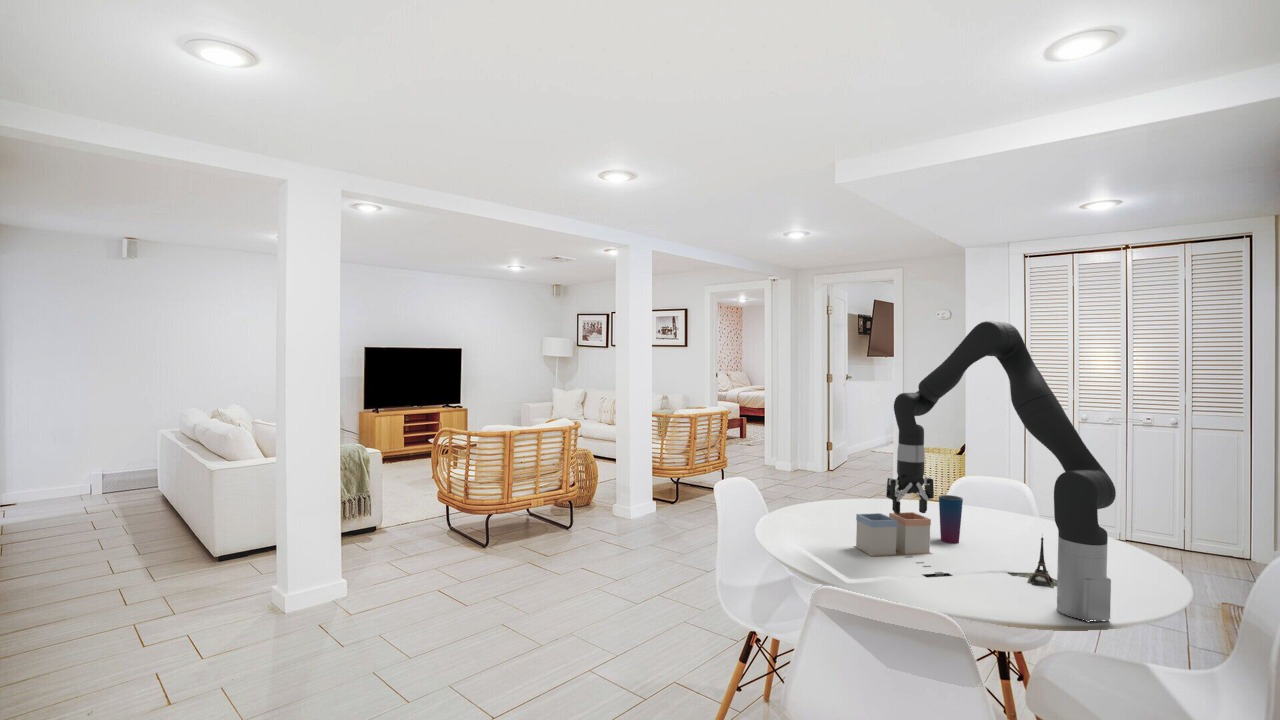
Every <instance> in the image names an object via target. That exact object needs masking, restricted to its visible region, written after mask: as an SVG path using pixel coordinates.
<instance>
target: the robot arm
mask: <svg viewBox="0 0 1280 720" xmlns="http://www.w3.org/2000/svg"><path fill="white" fill-rule="evenodd" d="M985 357H995V358H996V359H997V361H998V362H999V363H1000V365H1001V366H1002V368H1003V369H1004V372H1005V373H1006V375H1007V377H1008V380H1009V391H1010V399H1011V404H1012V406H1013V409H1014V410H1015V412H1016V414H1017V416H1018V418H1019V419H1020V421H1021V423H1022V424H1023V426H1024V427H1025V429H1026V430H1027V431H1028V432H1029V433H1030V434H1031V435H1032V436H1033V437H1034V438H1035V439H1036V440H1037V441H1038V442H1039V443H1040V444H1042V445H1043V446H1044V447H1046V448H1047V450H1049V451H1050V452H1051V453H1052V455H1054V456H1055V458H1056V459H1057V460H1058V462H1059V463H1060V465H1061V467H1062V469H1063V470H1064V472H1062V473H1061V474H1059V475H1058V476H1057V478H1056V480H1055V483H1054V487H1053V488H1054V489H1053V511H1054V515H1053V516H1054V517H1053V518H1054V522H1055V525H1056V527H1057V530H1058V531H1057V532H1058V535H1057V536H1058V537H1057V538H1058V539H1057V540H1058V541H1057V578H1056V580H1057V586H1056V610H1057V611H1058V613H1060V614H1062V615H1064V614H1065V615H1064V616H1066V615H1067V617H1069V616H1071V617H1070V618H1072V617H1074V618H1073V619H1075V618H1079V619H1084V620H1087V621H1090V620H1093V621H1094V620H1096V621H1102V620H1109V619H1110V620H1111V603H1112V602H1111V596H1112V595H1111V594H1112V593H1111V591H1112V580H1111V578H1109V577H1108V576H1107V574H1108V570H1107V569H1108V538H1109V537H1108V536H1109V535H1108V532H1107V530H1106V529H1105V528H1103V527H1101V526H1100V525H1099V518H1098V517H1099V516H1098V512H1099V511H1098V510H1102V509H1106V508H1108V507H1110V506H1111V505H1112V504H1113V503H1114V502H1115V499H1116V496H1117V495H1116V487H1115V485H1114V482H1113V480H1112V479H1111V477H1110V476H1109V474H1108V473H1107V472H1106V470H1105V469H1104V468H1103V466H1101V464H1100V462H1098V460H1097V459H1096V458H1095V456H1094V454H1092V452H1091V451H1090V450H1089V448H1088V447H1087V445H1086V444H1085V442H1084V440H1083V439H1082V438H1081V436H1080V434H1079V433H1078V431H1077V430H1076V428H1075V426H1074V425H1073V423H1072V422H1071V420H1070V419H1069V417H1068V416H1067V414H1066V412H1065V410H1064V408H1063V407H1062V405H1061V403H1060V402H1059V400H1058V399H1057V397H1056V396H1055V393H1054V392H1053V391H1052V389H1051V388H1050V386H1049V385H1048V383H1047V381H1046V380H1045V378H1044V376H1043V374H1041V372H1040V370H1039V369H1038V367H1037V366H1036V364H1035V362H1034V360H1033V358H1032V357H1031V354H1030V352H1029V350H1028V347H1027V346H1026V343H1025V341H1024V339H1023V337H1022V335H1021V333H1020V332H1019V330H1018V329H1017V328H1016V326H1014V325H1012V324H1011V323H1009V322H1004V321H1003V322H1002V321H993V320H990V321H989V320H985V321H982V322H980V323H978V324H977V325H975V326H974V327H973V328H972V329H971V330H970V331H969V333H968V334H967V335H966V336H965V337H964V339H963V340H962V341H961V342H960V343H959V344H958V345H957V347H955V349H954V350H953V351H952V352H951V353H950V355H949V356H948V357H946V359H945V360H944V361H943V362H941V364H940V365H938V366H937V367H936V368H935V369H933V370H932V371H931V372H930V373H929V374H928V375H927V376H925V377H923V379H921V381H920V382H919V384H918V386H917V387H918V390H917V391H915V392H902V393H899V394H898V395H897V396H896V397H895V399H894V401H893V411H894V413H893V414H894V417H895V421H896V425H897V428H898V443H897V444H898V445H897V446H898V447H897V450H896V451H897V456H896V457H897V459H896V461H897V462H896V464H897V465H896V473H897V478H896V479H894V478H890V477H888V478H887V482H886V483H887V484H886V492H885V494H886V495H885V496H886V498H888V499H889V500H892V511H893V513H896V514H900V513H901V500H902V498H903V497H905V496H906V494H916V495H917V496H918V498H919V499H918V500H919V501H918V512H919V513H921V514H926V513H927V510H928V501H929V500H930V499H931V500H932V499H934V498H935V494H934V493H935V490H934V488H935V487H934V479H933V478H930V477H924V476H925V463H926V462H925V456H926V455H925V454H926V453H925V429H924V427H923V426H922V425H920V424H917V422H916V417H921V416H923V415H926V414H928V413H930V412H931V410H932V409H933V408H934V407H935V405H936V404H937V403H938V401H939V400H940V399H941V398H942V397H944V396H946V394H947V393H948V392H950V391H951V390H953V389H954V388H955V387H956V386H957V385H958V384H959V383H960V381H961V379H962V377H963V376H964V373H966V371H967V370H968V369H969V367H971V365H973V364H974V363H976V362H978V361H980V360H981V359H983V358H985ZM923 486H924V488H923ZM1079 619H1078V620H1079ZM1102 622H1103V621H1102Z"/></svg>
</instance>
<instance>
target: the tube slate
mask: <svg viewBox="0 0 1280 720" xmlns="http://www.w3.org/2000/svg"><path fill="white" fill-rule="evenodd" d="M855 516H856V518H855V519H856V534H855V535H856V536H855V537H856V538H855V540H856V543H855V544H856V545H855V546H856V547H857V548H858V549H860V550H862V551H864V552H865V553H867V554H869V555H871V556H876V555H896V527H897V520H895V519H893V518H890V517H889V515H886V514H883V513H880V512H878V513H856V515H855ZM858 549H857V550H858ZM860 550H859V551H860ZM862 551H861V552H862ZM865 553H864V554H865ZM867 554H866V555H867ZM869 555H868V556H869Z"/></svg>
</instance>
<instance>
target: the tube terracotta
mask: <svg viewBox="0 0 1280 720" xmlns="http://www.w3.org/2000/svg"><path fill="white" fill-rule="evenodd" d="M888 517H890V518H893V519H895V520H897V527H896V550H898V551H900V552H902V553H904V554H918V553H931V552H930V546H931V545H930V543H931V524H932V523H931V522H932V518H929V517H926V516H924V515H921V514H919V513H916V512H913V511H912V512H909V511H908V512H900V514H896V513H894V512H889V514H888Z"/></svg>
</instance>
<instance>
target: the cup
mask: <svg viewBox="0 0 1280 720" xmlns="http://www.w3.org/2000/svg"><path fill="white" fill-rule="evenodd" d="M963 501H964V498H963V497H961V496H957V495H950V494H940V495H938V506H939V507H938V508H939V509H938V510H939V526H940V527H939V528H940V529H939V530H940V541H941V542H943V543H946V544H959V543H960V537H961V535H960V534H961V524H962V513H963Z"/></svg>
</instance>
